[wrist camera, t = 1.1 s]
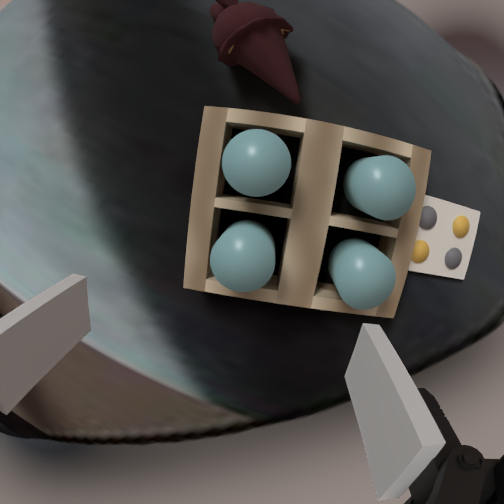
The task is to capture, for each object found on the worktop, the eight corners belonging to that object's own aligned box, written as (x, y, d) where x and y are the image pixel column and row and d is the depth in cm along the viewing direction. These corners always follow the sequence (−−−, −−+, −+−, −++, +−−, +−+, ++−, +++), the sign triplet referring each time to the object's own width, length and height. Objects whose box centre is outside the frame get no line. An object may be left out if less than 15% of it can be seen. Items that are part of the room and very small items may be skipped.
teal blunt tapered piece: (338, 206, 25) (352, 213, 21) (347, 152, 24) (362, 148, 20) (388, 216, 25) (409, 225, 21) (397, 164, 24) (420, 164, 19)
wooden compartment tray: (194, 273, 31) (183, 287, 27) (213, 114, 27) (204, 106, 23) (380, 301, 30) (393, 318, 26) (413, 152, 26) (431, 150, 22)
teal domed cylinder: (322, 284, 27) (331, 306, 23) (333, 233, 26) (345, 246, 21) (370, 291, 27) (386, 312, 23) (382, 242, 26) (402, 256, 21)
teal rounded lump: (217, 268, 28) (207, 286, 23) (224, 215, 26) (213, 224, 22) (270, 276, 27) (269, 297, 23) (278, 224, 26) (280, 235, 22)
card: (391, 266, 29) (393, 268, 28) (407, 190, 27) (410, 190, 26) (461, 278, 29) (464, 280, 28) (477, 211, 27) (481, 212, 26)
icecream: (348, 70, 19) (250, -39, 18) (267, 102, 19) (175, -17, 17) (321, 103, 26) (244, 3, 25) (255, 134, 26) (181, 26, 24)
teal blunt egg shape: (227, 188, 26) (217, 191, 21) (235, 133, 24) (227, 125, 20) (283, 196, 26) (285, 201, 21) (291, 141, 24) (295, 134, 20)
